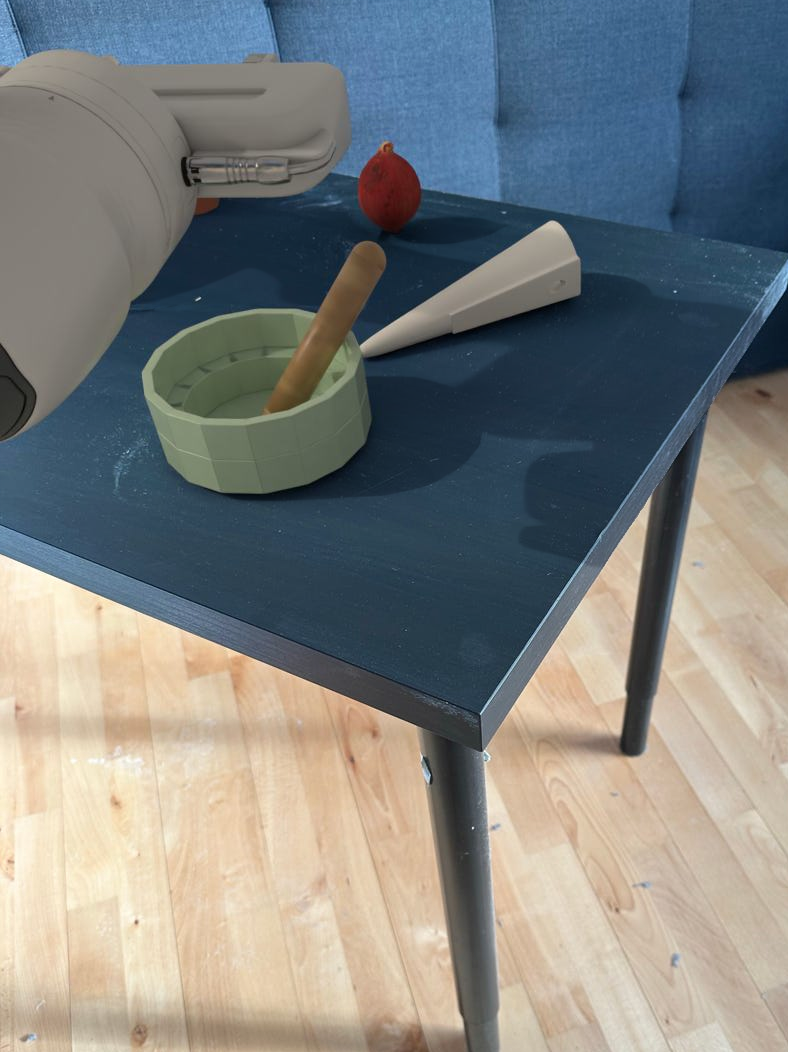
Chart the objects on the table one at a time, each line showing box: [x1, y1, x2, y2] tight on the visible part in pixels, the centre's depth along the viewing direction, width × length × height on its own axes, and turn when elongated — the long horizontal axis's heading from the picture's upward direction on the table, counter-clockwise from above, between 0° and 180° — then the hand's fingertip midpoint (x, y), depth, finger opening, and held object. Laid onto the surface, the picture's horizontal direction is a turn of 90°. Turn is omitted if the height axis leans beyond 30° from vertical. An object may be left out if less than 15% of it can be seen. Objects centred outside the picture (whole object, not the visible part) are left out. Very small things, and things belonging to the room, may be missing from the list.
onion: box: [357, 140, 422, 234], centre depth 86 cm, size 6×6×8 cm
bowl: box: [141, 308, 373, 495], centre depth 65 cm, size 14×14×6 cm
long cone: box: [359, 220, 582, 359], centre depth 76 cm, size 6×6×19 cm
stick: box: [263, 240, 387, 415], centre depth 64 cm, size 2×2×14 cm
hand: (180, 71), depth 49 cm, fingers open, 8 cm apart
